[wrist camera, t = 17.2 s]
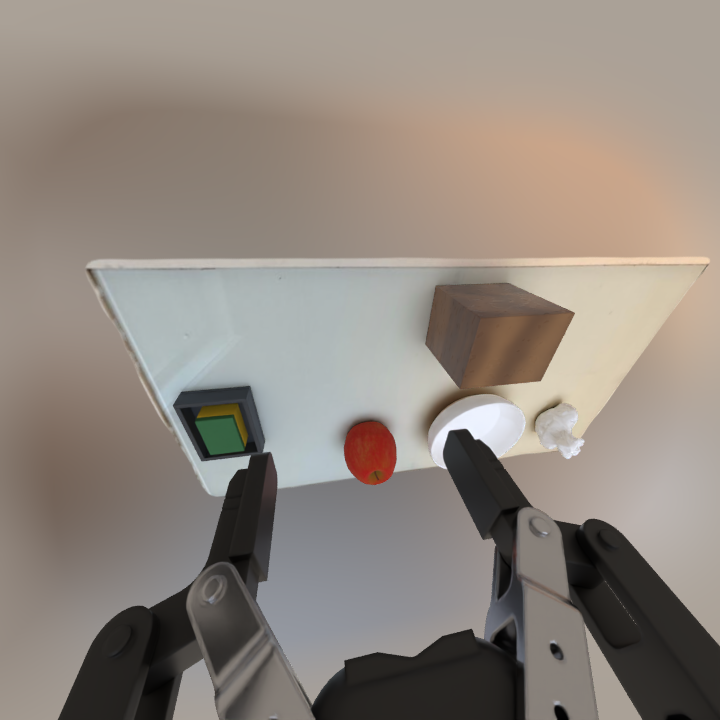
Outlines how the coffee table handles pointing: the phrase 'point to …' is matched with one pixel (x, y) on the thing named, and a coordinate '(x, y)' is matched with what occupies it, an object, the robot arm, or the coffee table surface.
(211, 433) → the sponge
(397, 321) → the coffee table surface
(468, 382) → the wooden block
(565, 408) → the bust
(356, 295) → the coffee table surface
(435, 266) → the coffee table surface
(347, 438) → the apple
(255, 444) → the tray
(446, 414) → the bowl
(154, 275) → the coffee table surface
